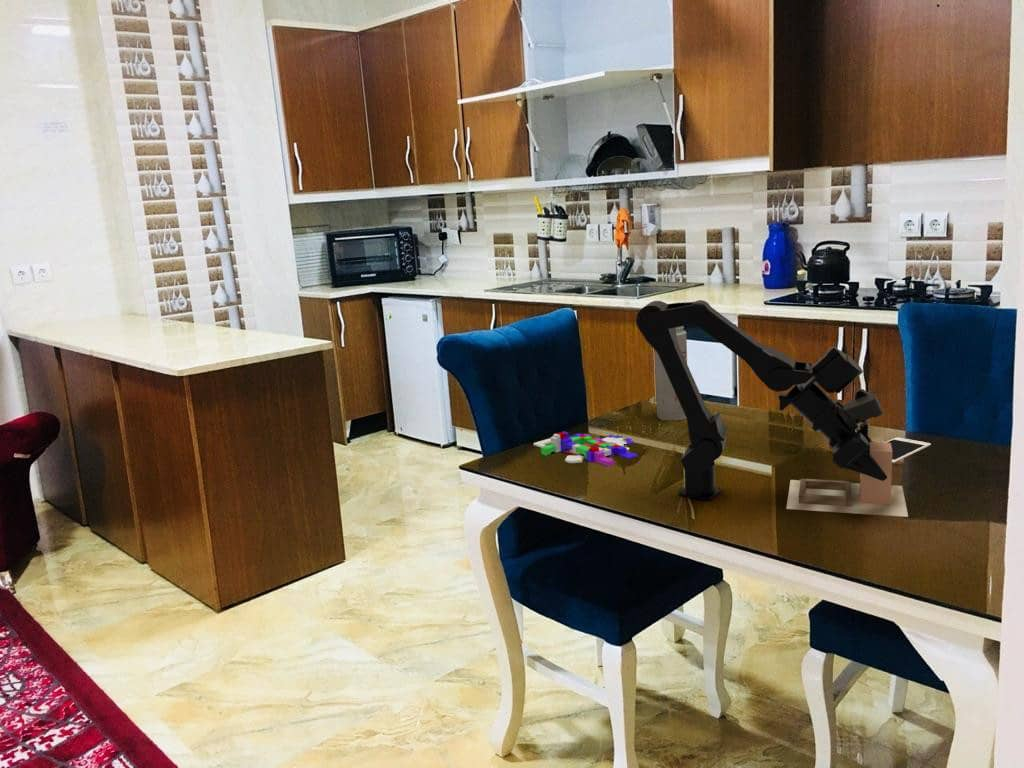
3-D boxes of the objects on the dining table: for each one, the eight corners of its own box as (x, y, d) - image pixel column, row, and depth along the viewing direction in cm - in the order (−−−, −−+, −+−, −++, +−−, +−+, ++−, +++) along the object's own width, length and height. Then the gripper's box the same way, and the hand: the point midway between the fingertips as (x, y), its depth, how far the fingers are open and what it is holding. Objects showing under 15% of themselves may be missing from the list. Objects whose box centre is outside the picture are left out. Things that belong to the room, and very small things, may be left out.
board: (786, 513, 151) (786, 500, 151) (790, 484, 165) (790, 472, 164) (908, 522, 144) (908, 508, 144) (901, 490, 158) (902, 478, 157)
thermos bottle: (694, 417, 214) (692, 309, 208) (668, 423, 211) (665, 314, 205) (676, 411, 222) (673, 306, 215) (651, 416, 219) (647, 310, 212)
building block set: (660, 451, 192) (659, 433, 191) (592, 474, 181) (591, 454, 180) (588, 431, 212) (587, 414, 211) (524, 450, 201) (522, 432, 200)
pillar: (860, 503, 151) (861, 450, 149) (859, 493, 156) (860, 441, 153) (890, 504, 149) (892, 451, 147) (889, 494, 154) (890, 442, 152)
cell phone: (931, 446, 182) (931, 443, 182) (893, 464, 172) (893, 462, 172) (896, 439, 188) (896, 436, 188) (857, 457, 178) (857, 454, 178)
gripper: (855, 393, 140) (925, 458, 139) (853, 368, 157) (915, 426, 156) (805, 436, 145) (872, 499, 144) (808, 407, 162) (868, 464, 160)
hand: (884, 470), depth 151 cm, fingers open, 9 cm apart
